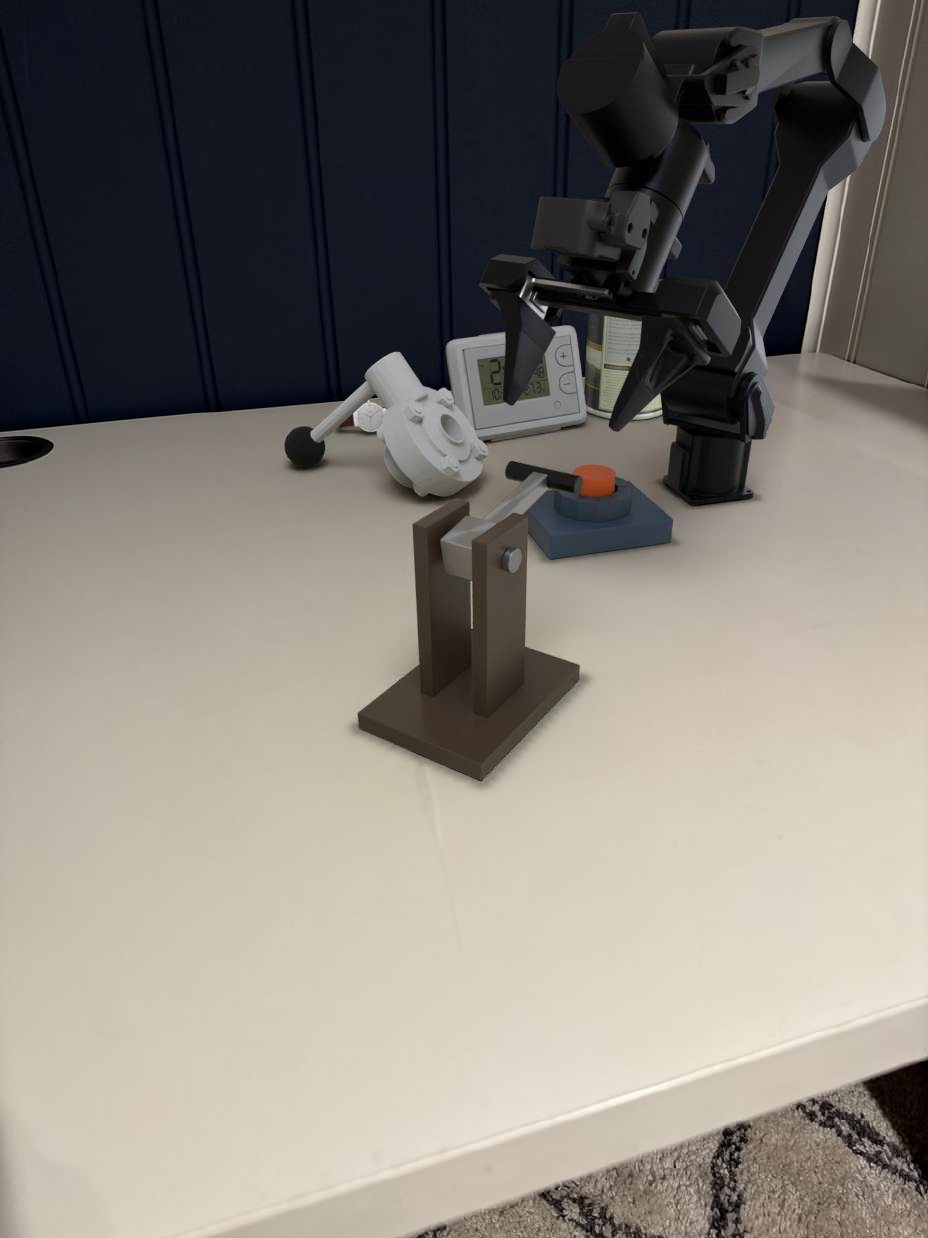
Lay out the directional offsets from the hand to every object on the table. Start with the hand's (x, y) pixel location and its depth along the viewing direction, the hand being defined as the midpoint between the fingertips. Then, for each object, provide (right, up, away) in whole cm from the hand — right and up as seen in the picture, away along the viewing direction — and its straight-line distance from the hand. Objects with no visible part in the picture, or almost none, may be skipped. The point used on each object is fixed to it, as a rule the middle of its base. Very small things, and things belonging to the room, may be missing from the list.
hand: (558, 415), depth 63 cm
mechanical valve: (-15, -1, +27) cm, 31 cm away
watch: (-18, +8, +40) cm, 45 cm away
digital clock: (-1, +7, +39) cm, 39 cm away
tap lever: (-4, -9, -9) cm, 13 cm away
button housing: (+5, -6, +16) cm, 18 cm away
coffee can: (+13, +11, +45) cm, 48 cm away
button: (+5, -3, +14) cm, 15 cm away
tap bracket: (-6, -20, -6) cm, 22 cm away
